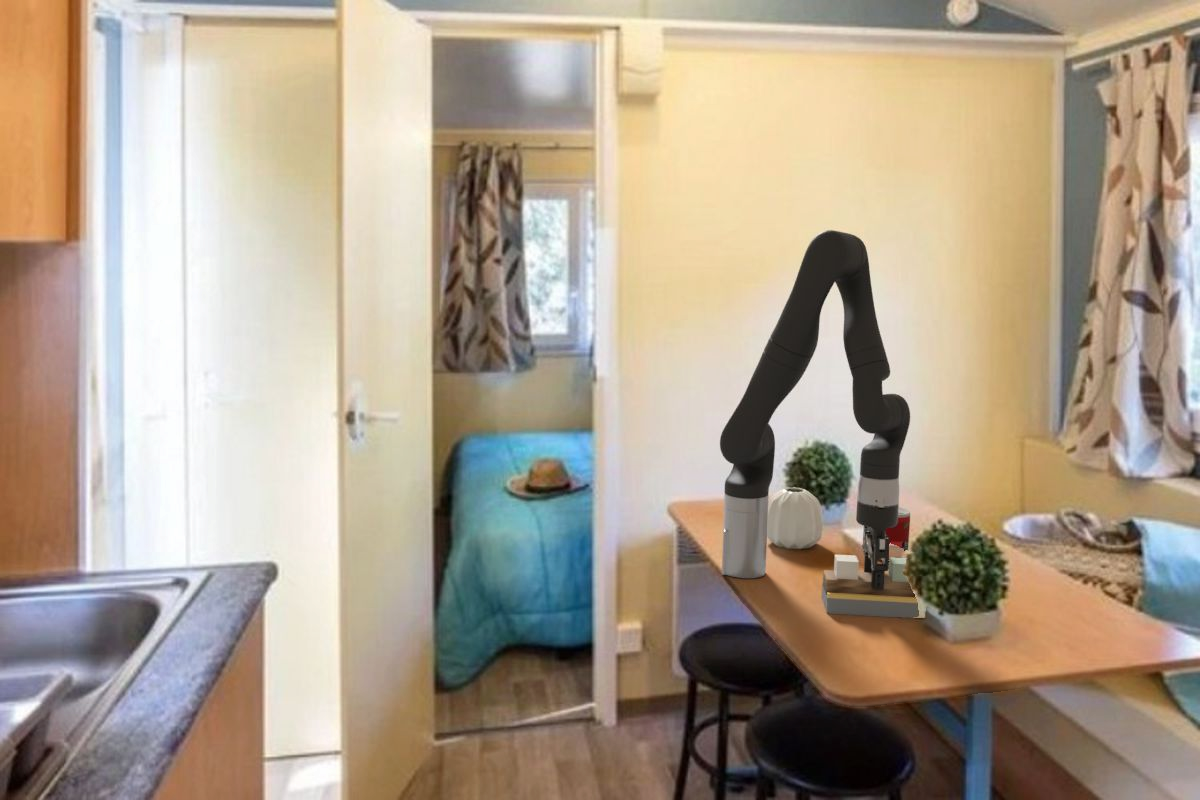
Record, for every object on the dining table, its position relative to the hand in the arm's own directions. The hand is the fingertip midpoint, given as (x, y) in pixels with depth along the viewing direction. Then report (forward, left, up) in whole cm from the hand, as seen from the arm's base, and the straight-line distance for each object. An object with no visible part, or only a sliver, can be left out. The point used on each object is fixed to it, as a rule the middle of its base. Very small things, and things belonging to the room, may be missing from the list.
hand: (873, 581), depth 171 cm
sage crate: (+5, 0, +1) cm, 5 cm away
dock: (0, 0, -5) cm, 5 cm away
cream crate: (-5, 0, +1) cm, 5 cm away
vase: (-12, +39, -5) cm, 41 cm away
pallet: (0, 0, -2) cm, 2 cm away
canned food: (+9, +33, -5) cm, 35 cm away
